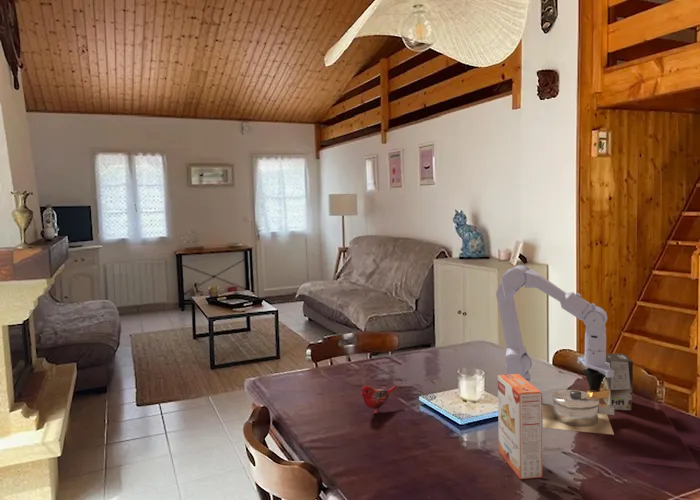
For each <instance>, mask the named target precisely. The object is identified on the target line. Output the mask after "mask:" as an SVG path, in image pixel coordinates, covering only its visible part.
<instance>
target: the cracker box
mask: <svg viewBox="0 0 700 500" xmlns="http://www.w3.org/2000/svg"><path fill="white" fill-rule="evenodd" d="M542 405H543V392H542V391H540V389H538V388H537V387H536V386H535V385H533V384H532V383H531V382H530V383H529V382H528V381H527V380H526V379H524V378H523V377H522V376H521V375H519V374H506V373H505V374H498V375H497V409H498V411H497V414H498V417H497V419H498V421H497V422H498V423H497V424H498V453H499V454H500V456H501V458H502V459H504V461H505V462H506V463H507V464H508V466H509V467H510V468H511V471H513V472H514V474H515V475H516V476H517V477H518V479H519V480H528V479H541V478H543V476H544V475H543V471H544V470H543V461H544V460H543V416H542Z"/></svg>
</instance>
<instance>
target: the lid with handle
mask: <svg viewBox="0 0 700 500" xmlns="http://www.w3.org/2000/svg"><path fill="white" fill-rule="evenodd" d="M551 395H552V401H554V402H555V403H557V404H559V405H562V406H565V407H569V408H576V409H590V408H595V407H597V406H599V404H601V403H600V399H603V398H605V397H609V390H607V389H605V388H603V387H602V388H600V389H595V390H590V389H589V390H587V391H581V390H576V389H575V390H574V389H562V390H557V391H555V392H553V393H552V394H551Z"/></svg>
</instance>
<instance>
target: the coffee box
mask: <svg viewBox="0 0 700 500" xmlns="http://www.w3.org/2000/svg"><path fill="white" fill-rule="evenodd" d="M606 362H607V363H609V367H610V368H611V369H612V370H614V377H609V378H607V377H606V376H605V377H604V379H603V381H602V388H605V389H607V390H609V397H605V398H602V400H603V401H604V403H605V404H606V405H613V406H614V411H617V410H619V411H632V410H633V382H634V381H633V380H634V379H633V375H634V373H633V372H634V371H633V370H634V361H633V360H632V359H630V358H629V357H628V356H627V355H626V354H625V353H606Z"/></svg>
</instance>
